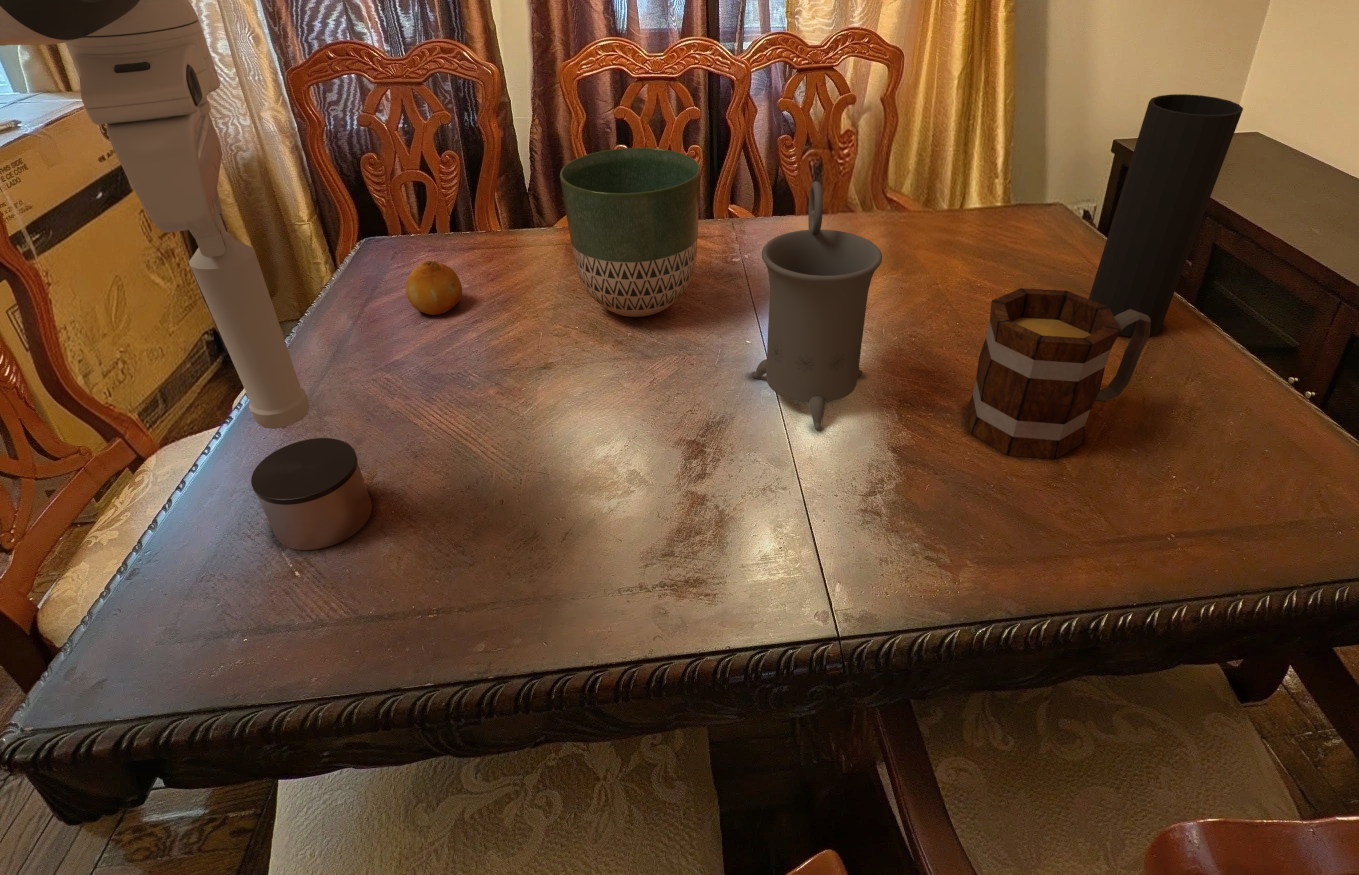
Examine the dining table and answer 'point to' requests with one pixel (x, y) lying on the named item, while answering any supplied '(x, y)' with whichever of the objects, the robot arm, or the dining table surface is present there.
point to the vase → (1163, 203)
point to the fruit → (433, 288)
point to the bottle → (251, 331)
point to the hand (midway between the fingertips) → (216, 244)
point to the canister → (312, 493)
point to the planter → (633, 226)
